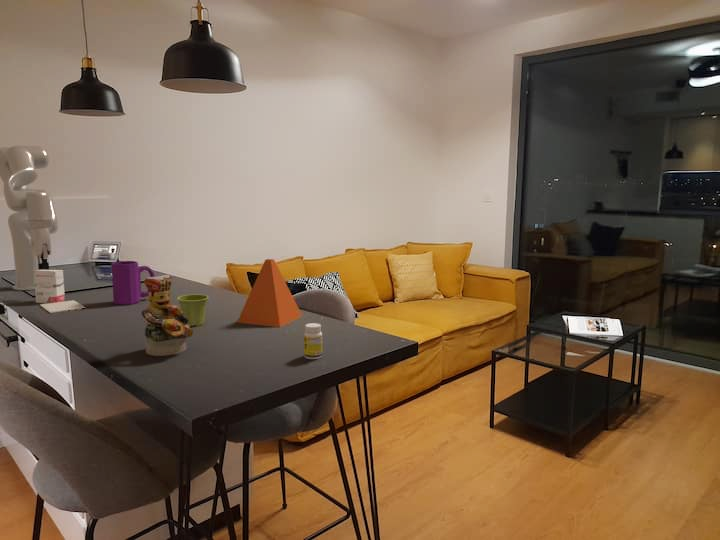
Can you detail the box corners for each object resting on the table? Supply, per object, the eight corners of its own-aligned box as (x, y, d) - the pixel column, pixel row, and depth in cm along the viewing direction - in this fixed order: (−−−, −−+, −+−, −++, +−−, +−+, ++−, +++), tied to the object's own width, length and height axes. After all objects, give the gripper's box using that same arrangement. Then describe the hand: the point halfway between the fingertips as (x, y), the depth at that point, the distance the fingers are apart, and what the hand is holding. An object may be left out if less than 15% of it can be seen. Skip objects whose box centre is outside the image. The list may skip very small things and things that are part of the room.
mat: (40, 305, 189) (39, 304, 189) (73, 301, 197) (73, 300, 197) (50, 313, 178) (50, 312, 178) (85, 308, 186) (85, 307, 186)
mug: (109, 302, 196) (107, 262, 194) (151, 296, 206) (149, 258, 204) (118, 306, 189) (115, 265, 187) (161, 300, 200) (159, 261, 197)
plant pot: (215, 322, 169) (214, 295, 168) (197, 329, 160) (196, 301, 159) (190, 319, 172) (189, 293, 171) (171, 326, 163) (170, 299, 162)
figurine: (144, 362, 130) (139, 282, 127) (142, 345, 144) (138, 273, 141) (195, 356, 135) (192, 279, 132) (189, 340, 149) (186, 270, 146)
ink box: (66, 300, 198) (63, 269, 196) (57, 303, 193) (54, 271, 191) (44, 299, 199) (41, 268, 197) (35, 302, 194) (32, 270, 192)
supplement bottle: (304, 353, 138) (304, 322, 137) (322, 353, 138) (322, 322, 137) (303, 359, 133) (303, 327, 132) (322, 359, 134) (322, 327, 132)
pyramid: (236, 322, 169) (235, 261, 166) (262, 312, 184) (260, 255, 181) (280, 327, 164) (279, 264, 161) (302, 316, 178) (302, 257, 175)
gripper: (24, 224, 200) (28, 272, 202) (32, 226, 189) (37, 277, 191) (46, 223, 205) (50, 270, 207) (56, 225, 194) (60, 274, 196)
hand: (44, 273), depth 199 cm, fingers closed
